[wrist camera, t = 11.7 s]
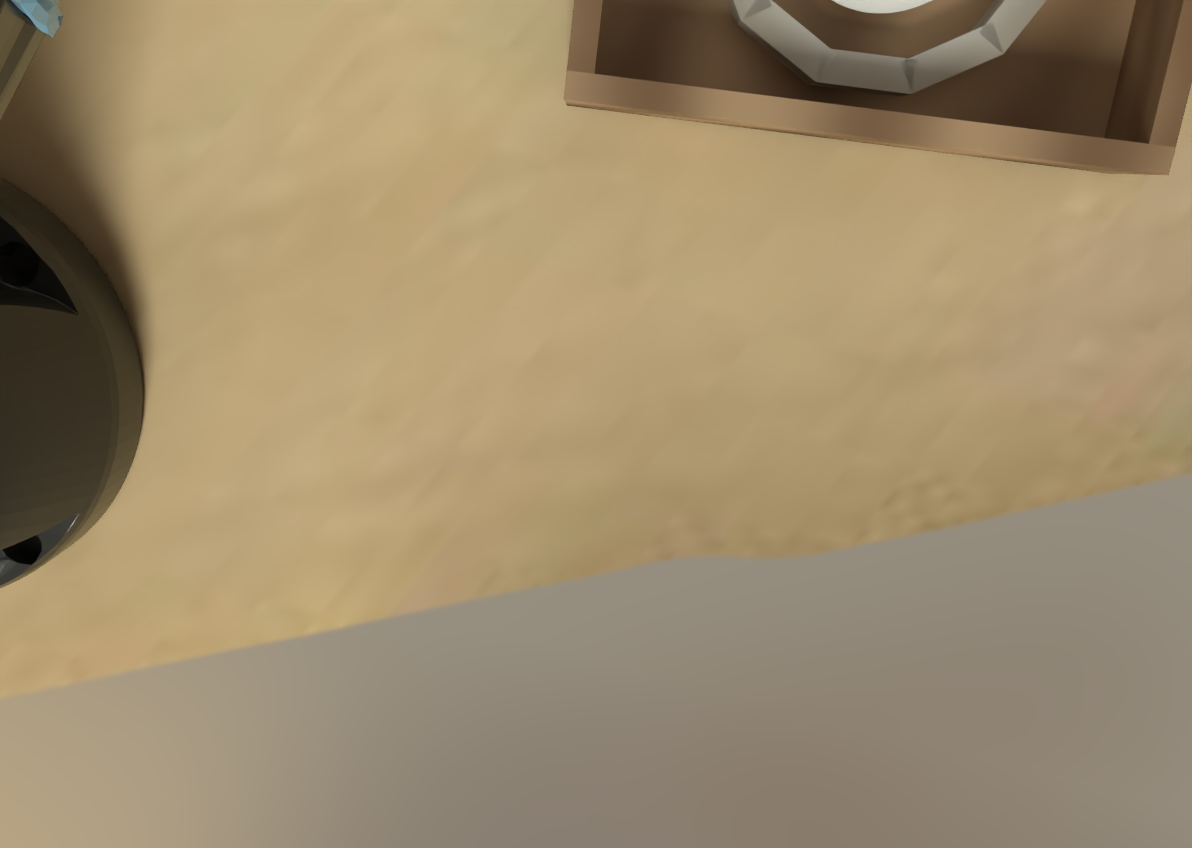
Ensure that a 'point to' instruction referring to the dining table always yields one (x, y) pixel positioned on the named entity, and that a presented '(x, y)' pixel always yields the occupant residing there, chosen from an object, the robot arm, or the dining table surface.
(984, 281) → the dining table surface
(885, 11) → the can
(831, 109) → the walled box
